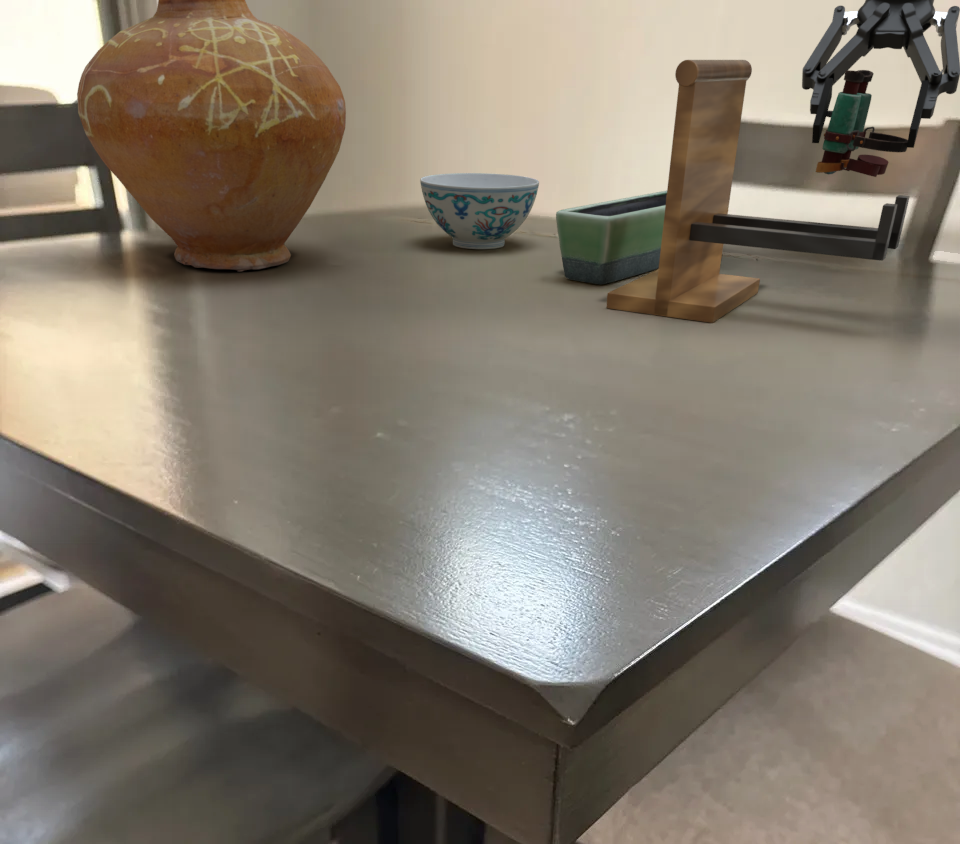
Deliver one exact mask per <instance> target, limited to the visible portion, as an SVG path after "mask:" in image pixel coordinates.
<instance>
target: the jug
mask: <svg viewBox="0 0 960 844" xmlns="http://www.w3.org/2000/svg"><path fill="white" fill-rule="evenodd" d="M76 96H77V97H76V99H77V114H78V117H79V119H80V123H81V124H82V127H83V130H84V133H85V135H86V138H87V139H88V140H89V142H90V144H91V145H92V147H93V149H94V150H95V152H96V154H98V156H99V158H100V160H101V161H102V162H103V164H104V165H105V166H106V167H107V169H109V171H110V172H111V173H112V174H113V175H114V176H115V177H116V178H117V179H118V181H119V183H121V185H122V186H123V187H124V188H125V189H126V190H127V192H128V193H129V194H130V195H131V196H132V197H133V199H134V200H135V201H136V202H137V203H138V204H139V206H140V208H142V209H143V210H144V212H145V213H146V214H147V216H148V217H149V218H150V219H151V220H152V221H153V222H154V223H155V224H156V225H157V226H158V227H159V228H160V229H162V230H163V232H165V234H167V235H168V236H169V237H170V238H171V240H172V241H173V242H174V243H175V245H176V246H177V247H176V248H175V250H174V255H173V256H174V259H175V260H176V262H179V263H180V264H183V265H184V266H191V267H193V268H201V269H203V268H204V269H210V270H211V269H212V270H233V271H237V272H244V271H247V270H253V271H255V270H262V269H267V268H270V267H275V266H280V265H283V264H285V263H287V262H290V261H289V260H290V259H291V256H292V254H291V252H290V250H289V248H288V247H287V246H286V245H285V243H286V242H287V241H288V239H289V238H290V236H291V235H292V233H293V232H294V231H295V229H296V228H297V226H298V225H299V224H300V222H301V221H302V219H303V218H304V216H305V215H306V213H307V212H308V210H309V209H310V207H311V205H312V204H313V202H314V200H315V198H316V197H317V195H318V193H319V191H320V189H321V188H322V186H323V184H324V183H325V180H326V178H327V176H328V175H329V172H330V170H331V169H332V167H333V164H334V163H335V160H336V158H337V157H338V154H339V152H340V150H341V145H342V141H343V137H344V134H345V131H346V123H347V122H346V119H347V108H346V107H347V106H346V100H345V96H344V93H343V91H342V88H341V86H340V84H339V82H338V81H337V80H336V77H334V75H333V74H332V72H331V71H330V69H329V68H328V66H327V65H326V63H324V62H323V60H322V59H321V58H320V57H319V56H318V55H317V54H316V53H315V52H314V51H313V50H312V48H310V47H309V46H308V45H307V44H306V43H305V42H303V41H302V40H300V39H299V38H298V37H296V36H295V35H294V34H291V33H290V32H288V31H287V30H285V29H284V28H283V27H280V26H279V25H277V24H273V23H270V22H267V21H263V20H260V19H259V18H257V17H256V16H255V15H254V14H253V13H252V11H251V10H250V8H249V6H248V4H247V1H246V0H158V2H157V7H156V11H155V13H154V14H153V16H152V17H149V18H148V19H145V20H143V21H141V22H138V23H135V24H134V25H131V26H129V27H127V28H125V29H122V30H120V31H118V32H117V33H116V34H114V36H112V37H111V38H110V39H108V41H106V42H105V43H104V44H103V45H102V46H101V47H100V48H99V49H98V50H97V51H96V52H95V54H94V55H93V56H92V58H90V60H89V61H88V63H87V64H86V65H85V66H84V69H83V71H82V72H81V75H80V79H79V82H78V87H77V93H76Z"/></svg>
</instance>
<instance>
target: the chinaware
mask: <svg viewBox="0 0 960 844" xmlns="http://www.w3.org/2000/svg"><path fill="white" fill-rule="evenodd" d="M419 182H420V187H421V188H420V189H421V192H422V196H423V200H424V203H425V206H426V208H427V211H428V213H429V214H430V216H431V217H432V219H433V220H434V222H435V223H436V224H437V225H438V227H439V228H440V229H441V230H442V231H444V232H445V233H446V234H447V235H448V236H450V237H451V238H452V245H453V246H454V247H457V248H461V249H465V250H466V249H467V250H495V249H500V248H503V247H504V246H505V242H506V238H508V237H509V236H511V235H512V234H514V233H515V232H516V231H517V230H518V229H519V228H520V227H521V226H522V225H523V224H524V222H525V221H526V220H527V219H528V217H529V215H530V213H531V211H532V209H533V206H534V204H535V201H536V198H537V194H538V190H539V185H540V180H538V179H536V178H533V177H529V176H524V175H515V174H505V173H504V174H503V173H487V172H486V173H483V172H482V173H481V172H457V173H456V172H454V173H439V174H432V175H431V174H430V175H426V176H423V177H421V178H420V180H419Z"/></svg>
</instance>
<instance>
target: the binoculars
mask: <svg viewBox="0 0 960 844" xmlns="http://www.w3.org/2000/svg"><path fill="white" fill-rule="evenodd" d="M843 76H844V77H843V80H844V85H843V88H842V91H840V92H838V94H837V97H836V98H835V103H834V106H833V109H832V110H828V111H827V114H826V118H827V117H828V118H830V120H829V123H828V125H827V129H826V130H825V132H824V133H823V139H824V140H823V144H822V147H821V149H822V150H823V155H822V159H821V161H818V162H817V164H816V167H815V173H819V174H820V173H822V174H823V173H824V174H825V175H833V174H835V173H837V172H843V171H847V172H850V171H851V172H855V173H858V174H862V175H865V176H869V177H874V178H877V176H881V175H882V176H883V175H884V174H885V173H886V171H887V168H888V166H889V163H890V162H889V160H888V159H886V158H884V157H882V156H878V155H873V154H859V155H858V156H857V159H854V158H851V155H852V152H854V151H855V150H858V149H859V148H862V149H867V150H873V151H878V152H879V151H880V152H887V153H906V152H907V151H908V147H907V143H908V138H904V137H901V136H897V135H892V134H887V133H882V132H875V126H868V127H866V122H867V119H868V114H869V109H870V107H871V102H872V96H873V95H872V94H871V93H867V89H868V86H869V83H871V82H872V80H873V77H874V72H873V71H871V70H869V69H858V70H852V69H851V70H850V69H849V70H848V71H846V72H845V74H844V75H843ZM865 127H866V128H865ZM868 130H871V131H869V135H868V137H866V134H867V131H868Z"/></svg>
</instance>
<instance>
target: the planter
mask: <svg viewBox="0 0 960 844" xmlns="http://www.w3.org/2000/svg"><path fill="white" fill-rule="evenodd" d="M666 197H667V190H663V191H662V190H661V191H657V192H650V193H646V194H639V195H633V196H629V197H624V198H623V197H622V198H617V199H612V200H606V201H601V202H596V203H595V202H594V203H590V204H585V205H580V206H575V207H574V206H573V207H569V208H563V209H560V210H557V211H556V213H555V222H556V229H557V236H558V243H559V249H560V250H559V251H560V256H561V262H562V268H563V273H564V274H563V275H564V278H565V279H567V280H572V281H576V282H580V283H581V282H582V283H587V284H594V285H606V284H611V283H614V282H617V281H621V280H624V279H628V278H632V277H634V276H638V275H642V274H646V273H650V272H653V271H656V270H658V269H659V261H660V252H661V243H662V233H663V224H664V215H665V206H666Z"/></svg>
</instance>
